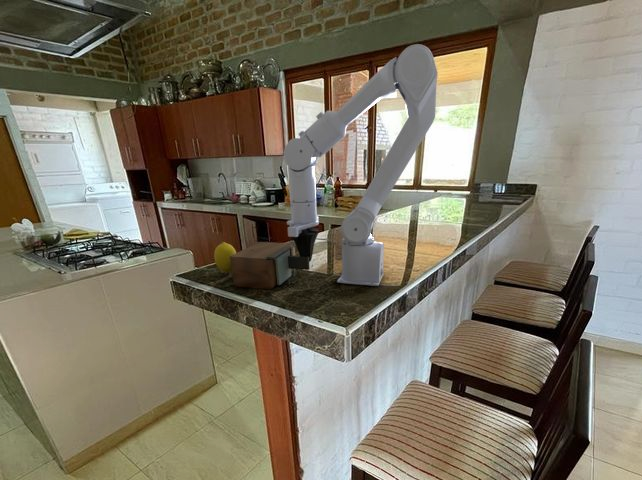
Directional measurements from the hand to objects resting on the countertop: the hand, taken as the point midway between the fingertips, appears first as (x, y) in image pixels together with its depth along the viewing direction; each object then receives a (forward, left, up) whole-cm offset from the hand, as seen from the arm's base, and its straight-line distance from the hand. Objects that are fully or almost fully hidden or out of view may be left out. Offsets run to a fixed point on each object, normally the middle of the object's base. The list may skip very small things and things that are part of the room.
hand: (306, 261), depth 79 cm
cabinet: (+10, +3, -4) cm, 11 cm away
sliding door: (+2, +4, -4) cm, 6 cm away
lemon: (+21, +2, -4) cm, 21 cm away
